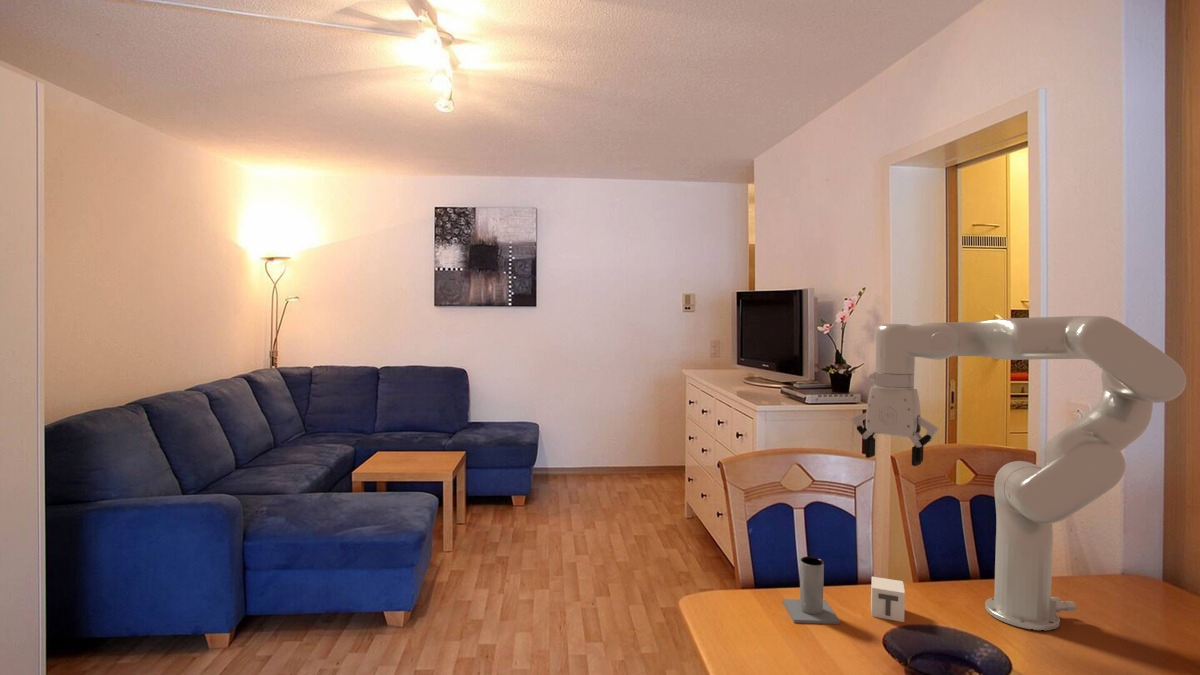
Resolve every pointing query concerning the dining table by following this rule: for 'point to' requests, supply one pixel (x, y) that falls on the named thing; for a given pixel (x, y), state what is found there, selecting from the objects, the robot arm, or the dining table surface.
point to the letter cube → (887, 599)
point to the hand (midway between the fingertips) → (892, 460)
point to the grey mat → (803, 617)
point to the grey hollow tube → (811, 585)
